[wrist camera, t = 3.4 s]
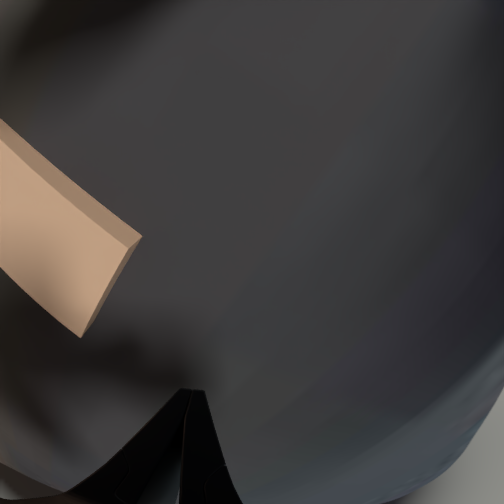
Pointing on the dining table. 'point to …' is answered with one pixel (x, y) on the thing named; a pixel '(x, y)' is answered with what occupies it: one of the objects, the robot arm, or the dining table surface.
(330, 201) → the dining table surface
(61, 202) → the terracotta tile
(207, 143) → the dining table surface
